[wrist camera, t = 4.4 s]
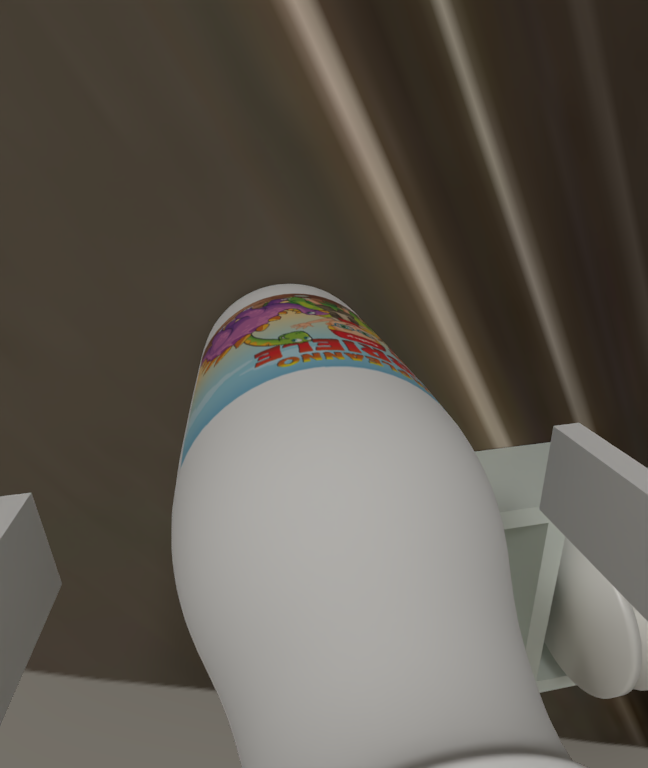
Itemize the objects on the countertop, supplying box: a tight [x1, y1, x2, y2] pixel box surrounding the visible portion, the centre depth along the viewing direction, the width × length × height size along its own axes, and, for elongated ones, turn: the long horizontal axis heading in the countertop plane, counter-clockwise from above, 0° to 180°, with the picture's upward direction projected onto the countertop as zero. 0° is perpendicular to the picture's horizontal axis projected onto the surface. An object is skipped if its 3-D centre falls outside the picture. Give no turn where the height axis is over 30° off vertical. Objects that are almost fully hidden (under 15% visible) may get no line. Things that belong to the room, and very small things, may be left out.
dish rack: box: [475, 442, 648, 699], centre depth 23 cm, size 13×18×9 cm
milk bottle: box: [172, 284, 588, 768], centre depth 13 cm, size 8×8×20 cm
